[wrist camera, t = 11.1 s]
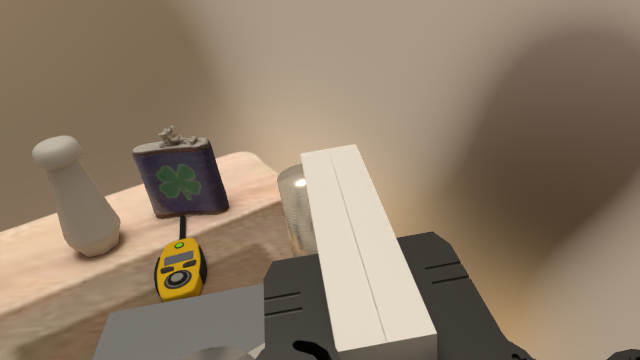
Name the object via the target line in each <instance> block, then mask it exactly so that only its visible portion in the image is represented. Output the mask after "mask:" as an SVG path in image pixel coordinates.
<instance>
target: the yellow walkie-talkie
mask: <svg viewBox="0 0 640 360" xmlns="http://www.w3.org/2000/svg"><path fill="white" fill-rule="evenodd" d="M206 273H207V267H206V261H205V258H204V255H203V252H202V249H201V247H200V245H198V244H197V243H196V241H195V239H193V238H187V239H185V216H184V215H181V217H180V237H179V240H178V241H174V242H172V243H170V244H168V245H167V246H166V247H165V248H164V250H163V252H162V255H161V257H159V258H158V261H157V263H156V267H155V272H154V281H155V286H156V290H157V292H158V294H159V296H160V297H161V299H162V302H163V303H164V302H169V301H174V300H180V299H185V298H190V297H195V296H199V295H200V292H201V289H202V285H203V284H204V283H205V280H206Z"/></svg>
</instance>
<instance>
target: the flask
mask: <svg viewBox="0 0 640 360" xmlns="http://www.w3.org/2000/svg"><path fill="white" fill-rule="evenodd" d="M172 128H174V127H173V126H170V127H168V129H167V128H164V131H163V132H162V133H159V137H161V138H164V139H163V141H162V142H156V143H148V144H144V145H140V146H138V147H135V148H134V149H133V151H132V154H133V158H134V160H135V162H136V164H137V166H138V169H139V171H140V174H141V177H142V179H143V182H144V185H145V188H146V191H147V193H148V195H149V198H150V201H151V204H152V207H153V210H154V213H155V215H156V216H157V217H161V218H170V217H181V215H184V216H185V217H189V216H191V215H194V214H198V215H202V214H208V215H209V214H221V213H223V212H225V211H227V210H228V209H229V204H228V200H227V195H226V192H225V189H224V186H223V183H222V180H221V176H220V173H219V170H218V167H217V163H216V160H215V156H214V153H213V150H212V146H211V144H210V141H209V140H208V139H206V138H198V139H197V137H194V136H193V137H190V138H188V139H186V138H182V136H181V135H179V134H174V135H173V134H172V132H173V131H172Z"/></svg>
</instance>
